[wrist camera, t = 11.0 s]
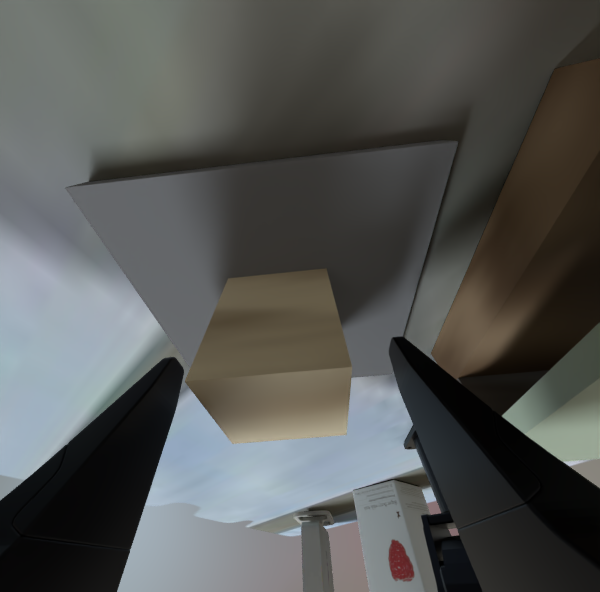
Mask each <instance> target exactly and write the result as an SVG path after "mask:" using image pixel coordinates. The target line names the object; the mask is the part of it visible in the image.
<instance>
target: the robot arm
mask: <svg viewBox="0 0 600 592" xmlns="http://www.w3.org/2000/svg"><path fill="white" fill-rule="evenodd" d="M389 357H390V360H391V364H392V367H393V370H394V374H395V377H396V381H397V384H398V387H399V390H400V393H401V396H402V398H403V401H404V403H405V405H406V408H407V410H408V413H409V415H410V417H411V420H412V422H413V427H412V429H411V431H410V433H409V435H408V437H407V439H406V441H405V443H404V447H405V449H417V452H418V454H419V457H420V460H421V462H422V465H423V467H424V470H425V472H426V475H427V477H428V480H429V482H430V485H431V487H432V490H433V492H434V495H435V497H436V500H437V503H438V505H439V508H440V510H441V514H434V515H428V514H424V515H421V519H422V523H423V531H424V535H425V539H426V543H427V547H428V552H429V556H430V560H431V564H432V568H433V572H434V576H435V580H436V584H437V591H438V592H600V488H599V487H597V486H596V485H594V484H593V483H592V482H590V481H589V480H587V479H586V478H584V477H583V476H582V475H580V474H579V473H578V472H576V471H575V470H573V469H572V468H571V467H569V466H568V465H566V464H565V463H564V462H562V461H561V460H559V459H558V458H557V457H555V456H554V455H552V454H551V453H550V452H548V451H547V450H545V449H544V448H543V447H541V446H540V445H539V444H537V443H536V442H535V441H533V440H532V439H530V438H529V437H528V436H526V435H525V434H524V433H523V432H521V431H520V430H519V429H517V428H516V427H515V426H514V425H512V424H511V423H510V422H508V421H507V420H506V419H505V418H503V417H502V416H501V415H500V414H499V413H497V412H496V411H494V410H492V408H491V407H490V406H488V405H487V404H486V403H485V402H484V401H482V400H481V399H480V398H479V397H477V396H476V395H475V394H474V393H472V392H471V391H470V390H469V389H467V388H466V387H465V386H464V385H462V384H461V383H460V382H459V381H457V380H456V379H455V378H454V377H453V376H451V375H450V374H449V373H448V372H446V371H445V370H444V369H443V368H441V367H440V366H439V365H438V364H436V363H435V362H434V361H433V360H431V359H430V358H429V357H428V356H427V355H425V354H424V353H423V352H422V351H420V350H419V349H418V348H417V347H415V346H414V345H413V344H412V343H410V342H409V341H408V340H407V339H405V338H404V337H402V336H398V337H392V338H391V342H390V346H389ZM183 375H184V369H183V367H182V366H181V364H180V363H179V362H178V360H177V359H176V358H175V357H169V358H164V359H162V360H161V361H160V362H159V363H158V364H157V365H155V366H154V367H153V368H152V369H151V370H150V371H149V372H148V373H146V374H145V375H144V376H143V377H142V378H141V379H140V380H139V381H137V382H136V383H135V384H134V385H133V386H132V387H131V388H130V389H128V390H127V391H126V392H125V393H124V394H123V395H122V396H121V397H119V398H118V399H117V400H116V401H115V402H114V403H113V404H112V405H110V406H109V407H108V408H107V409H106V410H105V411H104V412H103V413H101V414H100V415H99V416H98V417H97V418H96V419H95V420H93V421H92V422H91V423H90V424H89V425H88V426H87V427H86V428H84V429H83V430H82V431H81V432H80V433H79V434H78V435H77V436H75V437H74V438H73V439H72V440H71V441H70V442H69V443H68V444H67V445H65V446H64V447H63V448H62V449H61V450H60V451H58V452H57V453H56V454H55V455H54V456H53V457H52V458H50V459H49V460H48V461H47V462H46V463H45V464H44V465H42V466H41V467H40V468H39V469H38V470H37V471H35V472H34V473H33V474H32V475H31V476H30V477H28V478H27V479H26V480H25V481H24V482H22V483H21V484H20V485H19V486H18V487H16V488H15V489H14V490H13V491H11V493H9V494H8V495H7V496H5V497H4V498H3V499H2V500H1V501H0V592H117V590H118V587H119V584H120V580H121V577H122V574H123V571H124V568H125V565H126V562H127V559H128V556H129V553H130V549H131V546H132V543H133V540H134V537H135V534H136V531H137V527H138V525H139V521H140V518H141V515H142V512H143V509H144V506H145V503H146V500H147V497H148V494H149V491H150V488H151V485H152V482H153V479H154V475H155V472H156V469H157V466H158V463H159V460H160V457H161V454H162V451H163V448H164V445H165V442H166V439H167V435H168V432H169V429H170V426H171V423H172V420H173V417H174V414H175V410H176V407H177V403H178V398H179V393H180V389H181V384H182V379H183ZM452 528H457V529H458V533H459V536H451V534H450V532H449V530H448V529H452Z"/></svg>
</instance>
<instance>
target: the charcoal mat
mask: <svg viewBox="0 0 600 592" xmlns="http://www.w3.org/2000/svg"><path fill="white" fill-rule="evenodd" d="M457 145H458V141H446V140H438V141H430V142H421V143H413V144H405V145H396V146H388V147H379V148H371V149H362V150H354V151H345V152H337V153H329V154H320V155H312V156H303V157H295V158H286V159H278V160H269V161H261V162H253V163H244V164H236V165H227V166H219V167H210V168H202V169H193V170H185V171H176V172H168V173H160V174H151V175H143V176H134V177H126V178H117V179H109V180H100V181H92V182H85V183H82V184H78V185H74V186H70V187H66V188H65V189H66V190H67V191H68V193H69V194H70V196H71V197H72V199H73V200H74V201H75V203H76V204H77V206H78V207H79V209H80V210H81V212H82V213H83V214H84V216H85V217H86V219H87V220H88V222H89V223H90V225H91V226H92V227H93V229H94V230H95V232H96V233H97V235H98V236H99V238H100V239H101V240H102V242H103V243H104V245H105V246H106V248H107V249H108V251H109V252H110V253H111V255H112V256H113V258H114V259H115V261H116V262H117V264H118V265H119V266H120V268H121V269H122V271H123V272H124V274H125V275H126V277H127V278H128V279H129V281H130V282H131V284H132V285H133V287H134V288H135V290H136V291H137V292H138V294H139V295H140V297H141V298H142V300H143V301H144V302H145V304H146V305H147V307H148V308H149V310H150V311H151V313H152V314H153V315H154V317H155V318H156V320H157V321H158V323H159V324H160V326H161V327H162V328H163V330H164V331H165V333H166V334H167V336H168V337H169V339H170V340H171V341H172V343H173V344H174V346H175V347H176V349H177V350H178V352H179V353H180V354H181V356H182V357H183V359H184V360H185V362H186V363H187V365H188V366H189V367H190V368H191V366H192V363H193V361H194V358H195V356H196V354H197V351H198V349H199V347H200V344H201V342H202V339H203V337H204V335H205V332H206V330H207V327H208V325H209V323H210V320H211V318H212V316H213V313H214V311H215V308H216V306H217V304H218V301H219V299H220V297H221V294H222V292H223V289H224V287H225V285H226V282H227V280H228V278H237V277H247V276H257V275H267V274H276V273H286V272H296V271H306V270H316V269H325V268H327V272H328V276H329V280H330V284H331V288H332V291H333V295H334V299H335V303H336V307H337V311H338V314H339V318H340V322H341V326H342V330H343V334H344V337H345V341H346V345H347V349H348V353H349V357H350V360H351V364H352V375H351V378H352V377H364V376H376V375H387V374H392V373H393V367H392V364H391V360H390V357H389V346H390V342H391V338H392V337H398V336H402V337H403V334H404V331H405V327H406V324H407V320H408V317H409V313H410V310H411V306H412V303H413V299H414V296H415V292H416V289H417V285H418V282H419V278H420V275H421V271H422V268H423V264H424V261H425V257H426V254H427V250H428V247H429V243H430V240H431V236H432V233H433V229H434V226H435V222H436V219H437V215H438V212H439V208H440V205H441V201H442V198H443V194H444V191H445V187H446V184H447V180H448V177H449V173H450V169H451V166H452V162H453V159H454V155H455V152H456V148H457Z"/></svg>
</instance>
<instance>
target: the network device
mask: <svg viewBox="0 0 600 592" xmlns="http://www.w3.org/2000/svg"><path fill="white" fill-rule="evenodd" d="M315 515H326V516H318V517H305V518H303V517H302V516H315ZM294 519H295V520H296V521H297V522H299V523H300V524H301V525H302V527H301V532H302V568H303V592H334V587H333V575H332V565H331V555H330V544H329V535H328V532H327V531H326V529H325V528H324V527H323V526H327V525H333V524H334V519H333V517H332V515H331V513H330V511H323V510H320V511H306V512H298V513H295V514H294ZM325 521H329V522H325Z"/></svg>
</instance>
